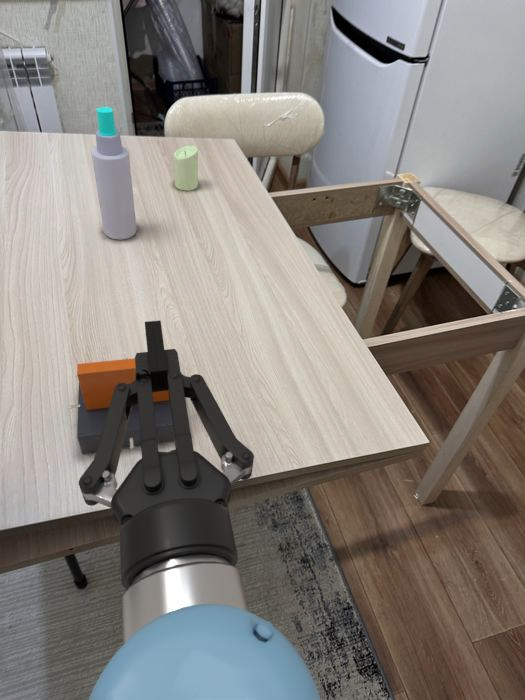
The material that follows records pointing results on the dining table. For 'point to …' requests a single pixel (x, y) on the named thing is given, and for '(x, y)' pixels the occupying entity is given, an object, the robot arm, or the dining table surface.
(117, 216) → the spray bottle
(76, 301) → the dining table surface
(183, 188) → the candle
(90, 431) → the dark square tile
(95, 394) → the orange toy brick
